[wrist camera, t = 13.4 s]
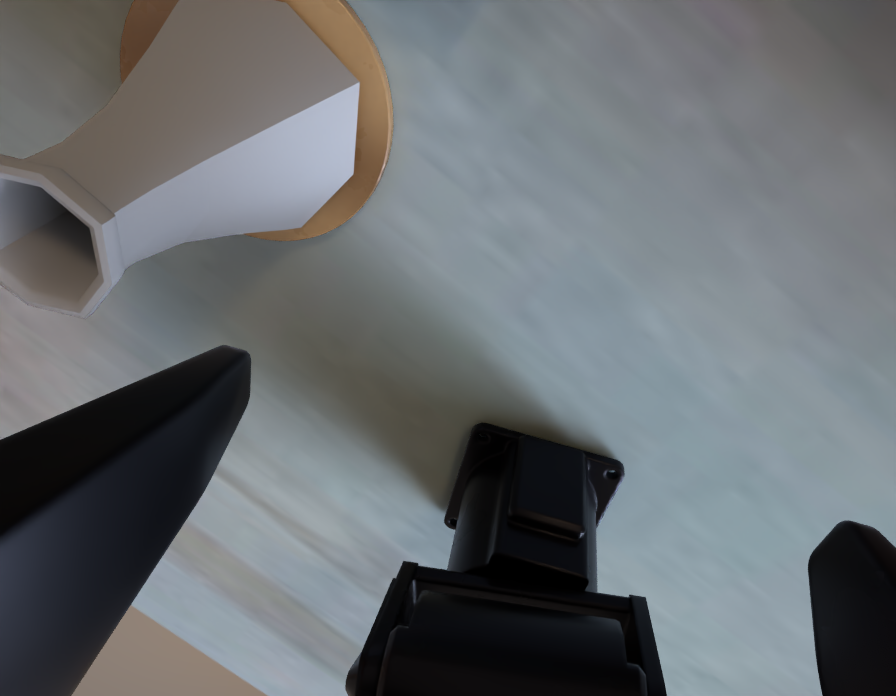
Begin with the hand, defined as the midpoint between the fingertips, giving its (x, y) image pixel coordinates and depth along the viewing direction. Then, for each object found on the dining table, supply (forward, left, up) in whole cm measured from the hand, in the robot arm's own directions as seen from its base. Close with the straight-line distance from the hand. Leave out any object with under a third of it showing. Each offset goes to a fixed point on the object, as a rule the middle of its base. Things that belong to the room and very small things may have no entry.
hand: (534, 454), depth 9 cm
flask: (-1, +10, -13) cm, 16 cm away
